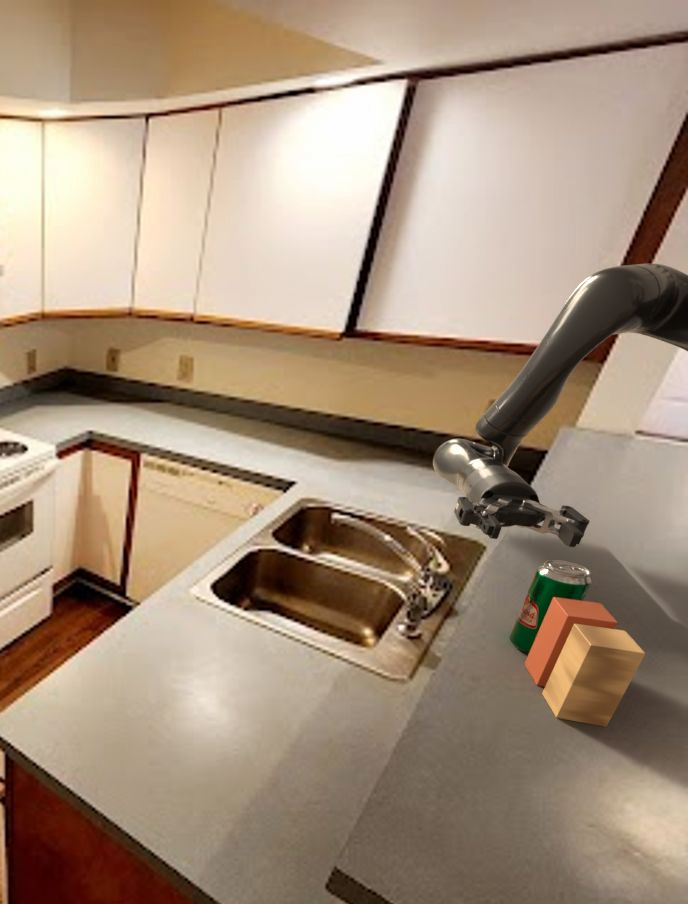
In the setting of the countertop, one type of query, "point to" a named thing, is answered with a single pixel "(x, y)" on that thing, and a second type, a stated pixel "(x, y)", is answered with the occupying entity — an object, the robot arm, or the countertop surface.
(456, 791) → the countertop surface
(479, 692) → the countertop surface
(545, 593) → the soda can
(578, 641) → the maple block
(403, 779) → the countertop surface
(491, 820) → the countertop surface
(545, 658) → the terracotta block
